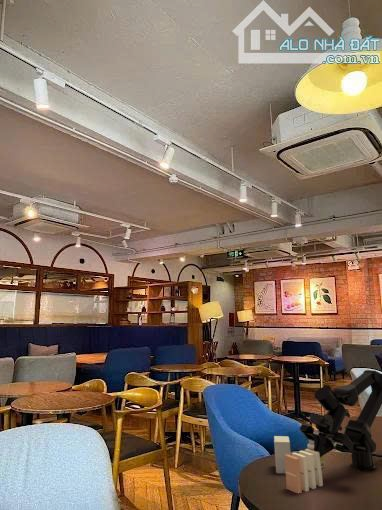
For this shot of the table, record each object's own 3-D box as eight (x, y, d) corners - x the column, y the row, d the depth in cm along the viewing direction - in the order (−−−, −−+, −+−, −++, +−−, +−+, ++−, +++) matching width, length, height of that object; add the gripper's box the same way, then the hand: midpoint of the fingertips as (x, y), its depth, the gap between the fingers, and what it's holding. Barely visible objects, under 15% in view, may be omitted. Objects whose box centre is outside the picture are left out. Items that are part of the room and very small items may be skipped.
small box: (292, 474, 134) (290, 442, 136) (276, 473, 135) (274, 441, 137) (291, 466, 142) (289, 436, 144) (275, 465, 143) (273, 435, 145)
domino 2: (297, 485, 125) (294, 452, 126) (309, 490, 120) (306, 456, 122) (294, 486, 124) (291, 453, 126) (305, 491, 120) (303, 457, 122)
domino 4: (311, 480, 128) (307, 448, 130) (323, 485, 124) (319, 452, 125) (308, 481, 127) (304, 449, 129) (320, 486, 123) (316, 453, 125)
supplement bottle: (324, 464, 143) (321, 436, 145) (324, 469, 138) (321, 440, 139) (309, 463, 144) (306, 435, 146) (308, 468, 139) (306, 439, 141)
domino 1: (289, 487, 123) (287, 454, 125) (301, 493, 119) (299, 458, 121) (286, 488, 122) (284, 455, 124) (298, 494, 118) (295, 459, 120)
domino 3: (304, 482, 126) (301, 450, 128) (316, 488, 122) (313, 454, 124) (301, 483, 125) (298, 451, 127) (313, 489, 121) (310, 455, 123)
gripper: (301, 400, 141) (281, 436, 133) (344, 408, 125) (324, 450, 118) (317, 420, 143) (298, 457, 136) (361, 430, 128) (343, 473, 120)
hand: (314, 458), depth 127 cm, fingers closed, pressing on domino 4
